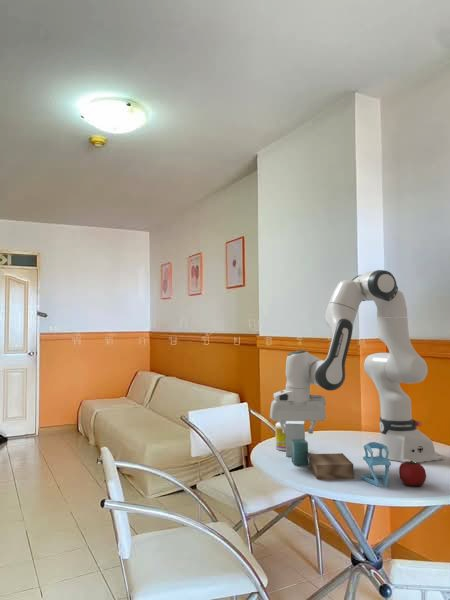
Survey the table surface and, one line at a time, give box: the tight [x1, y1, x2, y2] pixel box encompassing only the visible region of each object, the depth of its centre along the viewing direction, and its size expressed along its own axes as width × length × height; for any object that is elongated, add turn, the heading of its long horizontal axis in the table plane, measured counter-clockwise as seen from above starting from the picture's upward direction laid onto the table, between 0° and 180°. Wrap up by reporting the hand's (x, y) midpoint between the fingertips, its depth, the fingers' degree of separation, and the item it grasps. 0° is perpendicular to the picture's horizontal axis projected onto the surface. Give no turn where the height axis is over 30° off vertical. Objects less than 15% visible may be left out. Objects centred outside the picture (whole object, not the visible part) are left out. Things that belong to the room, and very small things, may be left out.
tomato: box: [398, 461, 427, 487], centre depth 134 cm, size 8×8×7 cm
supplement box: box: [285, 421, 306, 458], centre depth 167 cm, size 7×7×13 cm
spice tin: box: [291, 438, 309, 467], centre depth 156 cm, size 5×5×8 cm
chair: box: [360, 441, 392, 488], centre depth 137 cm, size 8×8×12 cm
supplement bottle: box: [274, 421, 286, 452], centre depth 175 cm, size 7×7×13 cm
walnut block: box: [308, 452, 355, 480], centre depth 146 cm, size 12×12×5 cm
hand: (297, 433), depth 157 cm, fingers open, 8 cm apart
